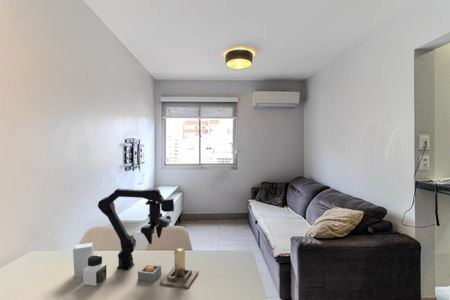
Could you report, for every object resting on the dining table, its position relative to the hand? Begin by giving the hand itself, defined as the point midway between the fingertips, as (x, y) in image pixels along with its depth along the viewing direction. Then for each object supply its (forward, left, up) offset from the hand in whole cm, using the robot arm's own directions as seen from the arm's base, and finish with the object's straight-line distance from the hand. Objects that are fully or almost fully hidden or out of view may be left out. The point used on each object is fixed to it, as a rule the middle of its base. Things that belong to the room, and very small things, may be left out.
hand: (154, 240), depth 134 cm
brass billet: (+19, -10, -12) cm, 25 cm away
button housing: (+4, -12, -13) cm, 18 cm away
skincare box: (-29, -18, -13) cm, 37 cm away
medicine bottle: (-19, -22, -13) cm, 32 cm away
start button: (+4, -12, -11) cm, 17 cm away
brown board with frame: (+19, -10, -13) cm, 25 cm away
